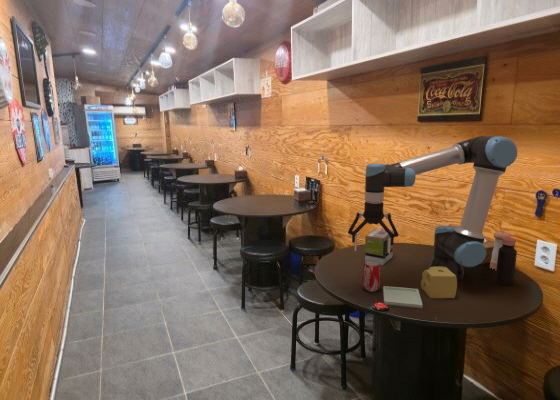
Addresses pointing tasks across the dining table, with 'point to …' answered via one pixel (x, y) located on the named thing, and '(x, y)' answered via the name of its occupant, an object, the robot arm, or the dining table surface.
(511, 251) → the bottle
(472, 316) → the dining table surface
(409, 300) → the tray
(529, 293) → the dining table surface
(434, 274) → the cheese
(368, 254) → the tea box
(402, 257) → the dining table surface
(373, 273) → the soda can
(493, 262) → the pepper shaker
